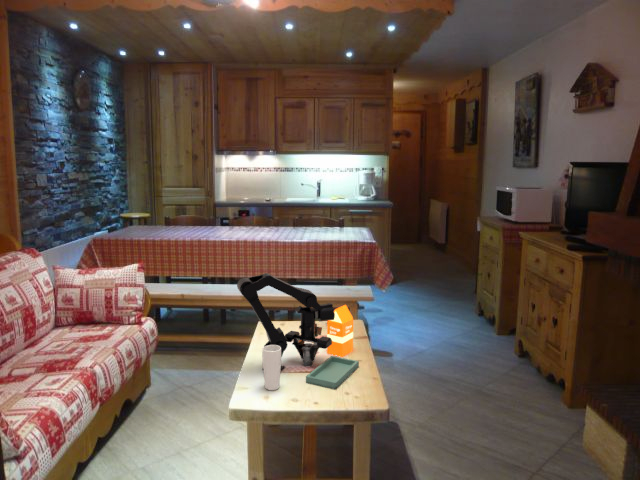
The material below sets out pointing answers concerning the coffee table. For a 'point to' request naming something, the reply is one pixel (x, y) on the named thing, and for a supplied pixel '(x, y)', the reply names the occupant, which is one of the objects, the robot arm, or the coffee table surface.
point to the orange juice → (340, 332)
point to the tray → (332, 372)
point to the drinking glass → (271, 366)
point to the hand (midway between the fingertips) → (307, 359)
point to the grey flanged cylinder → (307, 354)
